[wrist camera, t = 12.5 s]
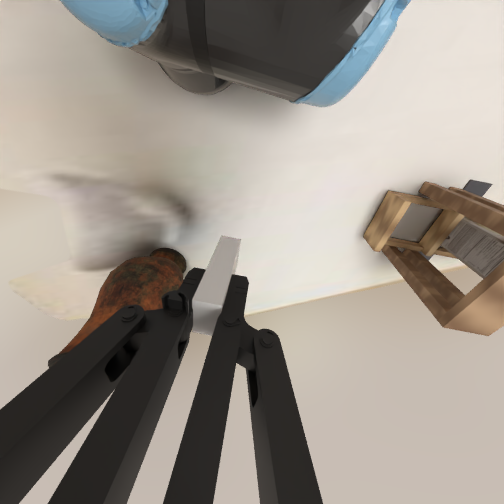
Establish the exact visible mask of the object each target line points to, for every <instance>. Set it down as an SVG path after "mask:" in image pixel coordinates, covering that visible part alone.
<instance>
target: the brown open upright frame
mask: <svg viewBox="0 0 504 504" xmlns="http://www.w3.org/2000/svg"><path fill="white" fill-rule="evenodd" d="M419 193H421V194H423V195H425V196H427V197H429V198H431V199H433V200H435V201H437V202H439V203H441V204H443V205H445V206H446V207H448V208H450V209H452V210H454V211H456V212H458V213H460V214H462V215H464V216H466V217H468V218H470V219H471V220H473V221H475V222H477V223H479V224H481V225H483V226H485V227H487V228H489V229H491V230H493V231H495V232H497V233H498V234H500V235H502V236H504V205H501V204H499V203H496V202H494V201H491V200H488V199H486V198H483V197H481V196H478V195H475V194H473V193H470V192H468V191H465V190H462V189H459V188H454V187H450V188H449V189H447V188H444V187H442V186H439V185H437V184H434V183H429V182H424V184H423V186H422V187H421V189H420V190H419ZM381 250H382V252H383V253H384V254H385V255H386V257H387V258H388V259H389V260H390V262H391V263H392V264H393V265H394V267H395V268H396V269H397V270H398V272H399V273H400V274H401V275H402V277H403V278H404V279H405V280H406V282H407V283H408V284H409V285H410V287H411V288H412V289H413V290H414V292H415V293H416V294H417V295H418V297H419V298H420V299H421V301H422V302H423V303H424V304H425V306H426V307H427V308H428V309H429V310H430V311H431V313H432V314H433V316H434V317H435V318H436V319H437V321H438V322H439V323H440V324H441V326H442V327H444V328H449V329H455V330H460V331H465V332H470V333H475V334H481V335H485V336H489V335H491V334H492V333H493V332H495V331H496V330H498V329H499V328H501V327H502V326H504V261H503V262H502V263H501V264H500V265H499V266H498V267H497V268H495V269H494V270H493V271H492V272H491V273H490V274H489V275H488V276H487V277H485V278H484V279H483V280H482V281H481V282H480V283H479V284H478V285H477V286H475V287H474V289H472V290H471V291H470V292H469V293H468V294H467V295H464V294H463V293H462V292H461V291H460V290H459V289H458V288H457V287H456V286H454V285H453V284H452V283H451V282H450V281H449V280H448V279H447V278H446V277H445V276H444V275H443V274H442V273H441V272H440V271H439V270H437V269H436V268H435V267H434V266H433V265H432V264H431V263H430V262H429V261H428V260H427V259H426V258H425V257H424V256H423V255H421V254H420V253H419V252H418V251H416V250H410V249H405V250H404V251H403V253H402V252H401V251H400V250H399V249H398V248H397V247H395V246H390V245H384V246H383V248H382V249H381Z"/></svg>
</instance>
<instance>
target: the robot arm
mask: <svg viewBox="0 0 504 504" xmlns="http://www.w3.org/2000/svg"><path fill="white" fill-rule="evenodd" d="M60 1H61V2H62V4H63V5H64V6H65V7H66V8H67V9H68V10H69V11H70V12H71V13H72V14H73V15H74V16H75V17H76V18H77V19H78V20H80V21H81V22H82V23H84V24H85V25H86V26H88V27H89V28H91V29H92V30H94V31H96V32H97V33H98V34H99V35H100V36H101V37H102V38H105V39H106V40H107V41H108V42H110V43H112V44H115V45H117V46H122V47H128V48H130V49H132V50H134V51H136V52H138V53H140V54H142V55H144V56H146V57H148V58H150V59H153V60H155V61H157V62H158V63H159V65H160V66H161V68H162V69H163V71H164V72H165V73H166V74H167V75H168V76H169V77H170V78H171V79H172V80H173V81H174V82H175V83H176V84H178V85H179V86H180V87H182V88H184V89H186V90H188V91H191V92H194V93H197V94H202V95H209V94H215V93H218V92H220V91H222V90H224V89H225V88H227V87H228V86H229V85H230V84H231V83H232V82H233V83H236V84H239V85H242V86H246V87H249V88H252V89H255V90H258V91H261V92H264V93H267V94H271V95H274V96H277V97H280V98H283V99H286V100H289V101H290V102H291V103H296V104H299V103H304V104H309V105H313V106H317V107H328V106H331V105H333V104H335V103H337V102H338V101H340V100H341V99H343V98H344V97H345V96H346V95H347V94H348V93H349V92H350V91H351V90H352V89H353V88H354V87H355V86H356V85H357V83H358V82H359V81H360V80H361V79H362V77H363V76H364V75H365V74H366V72H367V71H368V70H369V68H370V67H371V66H372V64H373V63H374V61H375V60H376V58H377V57H378V56H379V54H380V53H381V51H382V50H383V48H384V46H385V45H386V43H387V42H388V40H389V39H390V37H391V35H392V34H393V32H394V30H395V28H396V26H397V20H398V17H399V15H400V14H401V13H402V11H403V10H404V9H405V7H406V6H407V5H408V4H409V2H410V1H411V0H60ZM240 242H241V239H237V238H231V237H226V236H221V238H220V240H219V243H218V245H217V247H216V249H215V251H214V253H213V256H212V258H211V260H210V262H209V264H208V267H207V269H206V270H205V269H200V268H195V267H194V268H193V269H192V270H190V271H189V272H188V274H187V275H186V277H185V279H184V281H183V283H182V284H181V286H180V288H179V289H178V290H173V291H169V292H167V293H165V294H164V295H163V296H162V297H161V299H162V306H163V308H161V309H156V310H145V311H144V309H143V308H142V307H141V306H140V305H128V306H125V307H123V308H121V309H119V310H118V311H117V312H116V313H114V314H113V315H112V316H111V317H110V318H108V319H107V320H106V321H105V322H104V323H102V324H101V325H100V326H99V327H98V328H97V329H95V330H94V331H93V332H92V333H91V334H89V335H88V336H87V337H86V338H85V339H83V340H82V341H81V342H80V343H79V344H78V345H76V346H75V347H74V348H73V349H72V350H70V351H69V352H68V353H67V354H66V355H64V356H63V357H62V358H61V359H60V360H59V361H57V362H56V363H55V364H54V365H53V366H51V367H50V368H49V369H48V370H47V371H46V372H44V373H43V374H42V375H41V376H40V377H38V378H37V379H36V380H35V381H34V382H32V383H31V384H30V385H29V386H28V387H27V388H25V389H24V390H23V391H22V392H21V393H19V394H18V395H17V396H16V397H15V398H13V399H12V400H11V401H10V402H9V403H8V404H6V405H5V406H4V407H3V408H2V409H1V410H0V504H19V503H20V501H21V500H22V499H23V498H24V497H25V496H26V494H27V493H28V492H29V491H30V490H31V488H32V487H33V486H34V485H35V484H36V482H37V481H38V480H39V479H40V478H41V476H42V475H43V474H44V473H45V472H46V471H47V469H48V468H49V467H50V466H51V464H52V463H53V462H54V461H55V460H56V459H57V457H58V456H59V455H60V454H61V453H62V451H63V450H64V449H65V448H66V446H68V444H69V443H70V442H71V441H72V440H73V438H74V437H75V436H76V435H77V434H78V432H79V431H80V430H81V429H82V428H83V426H84V425H85V424H86V423H87V422H88V420H89V419H90V418H91V417H92V416H93V414H94V413H95V412H96V411H97V410H98V409H99V407H100V406H101V405H102V404H103V403H104V401H105V400H106V399H107V398H108V397H109V395H110V394H111V393H112V392H113V391H114V392H113V394H112V395H111V397H110V399H109V401H108V402H107V404H106V406H105V407H104V409H103V411H102V412H101V414H100V416H99V418H98V419H97V421H96V423H95V424H94V426H93V428H92V429H91V431H90V433H89V435H88V436H87V438H86V440H85V441H84V443H83V445H82V446H81V448H80V450H79V451H78V453H77V455H76V457H75V458H74V460H73V462H72V463H71V465H70V467H69V468H68V470H67V472H66V474H65V475H64V477H63V479H62V480H61V482H60V484H59V486H58V487H57V489H56V491H55V492H54V494H53V496H52V497H51V499H50V501H49V502H48V504H127V501H128V498H129V496H130V493H131V491H132V488H133V486H134V483H135V480H136V478H137V475H138V472H139V470H140V467H141V465H142V462H143V460H144V457H145V454H146V452H147V449H148V447H149V444H150V441H151V439H152V436H153V433H154V431H155V428H156V426H157V423H158V421H159V418H160V415H161V413H162V410H163V408H164V405H165V402H166V400H167V397H168V395H169V392H170V389H171V387H172V384H173V382H174V379H175V377H176V374H177V371H178V369H179V366H180V363H181V361H182V358H183V356H184V353H185V351H186V348H187V345H188V343H189V338H190V337H189V336H190V332H191V330H192V332H195V333H200V334H206V335H211V336H212V339H211V342H210V346H209V350H208V352H207V356H206V359H205V363H204V366H203V369H202V373H201V376H200V380H199V383H198V386H197V390H196V393H195V397H194V400H193V403H192V407H191V410H190V414H189V417H188V420H187V424H186V427H185V431H184V434H183V438H182V441H181V444H180V448H179V451H178V454H177V458H176V461H175V465H174V468H173V471H172V475H171V478H170V482H169V485H168V488H167V492H166V495H165V499H164V502H163V504H213V499H214V494H215V488H216V482H217V476H218V469H219V463H220V457H221V451H222V445H223V439H224V432H225V427H226V421H227V415H228V409H229V403H230V397H231V391H232V385H233V378H234V372H235V366H236V363H238V364H239V365H241V366H243V367H245V368H246V374H247V384H248V393H249V402H250V411H251V422H252V430H253V440H254V450H255V460H256V468H257V479H258V487H259V498H260V504H323V502H322V498H321V494H320V490H319V487H318V483H317V479H316V476H315V471H314V468H313V464H312V460H311V456H310V453H309V449H308V445H307V441H306V437H305V433H304V430H303V426H302V422H301V418H300V415H299V411H298V407H297V403H296V399H295V396H294V392H293V388H292V384H291V380H290V377H289V373H288V369H287V365H286V361H285V358H284V354H283V350H282V347H281V342H280V339H279V337H278V335H277V334H276V333H275V332H274V331H272V330H269V329H261V330H259V331H258V330H256V329H254V328H253V327H251V326H250V325H248V324H247V323H246V321H245V319H244V309H245V303H246V297H247V291H248V285H249V282H248V279H247V277H244V276H239V275H235V271H236V267H237V261H238V255H239V248H240ZM115 388H116V389H115Z"/></svg>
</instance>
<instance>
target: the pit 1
mask: <svg viewBox="0 0 504 504" xmlns="http://www.w3.org/2000/svg"><path fill="white" fill-rule="evenodd" d="M418 252H419V253H420V254H421V255H423V256H424V257H425V258H426V259H427V260H428V261H429V259H430V258H431V257H432V256H433V255H434V254H433V255H432V256H426V255H424V254H423V253H422V252H421V251H418Z"/></svg>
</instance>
